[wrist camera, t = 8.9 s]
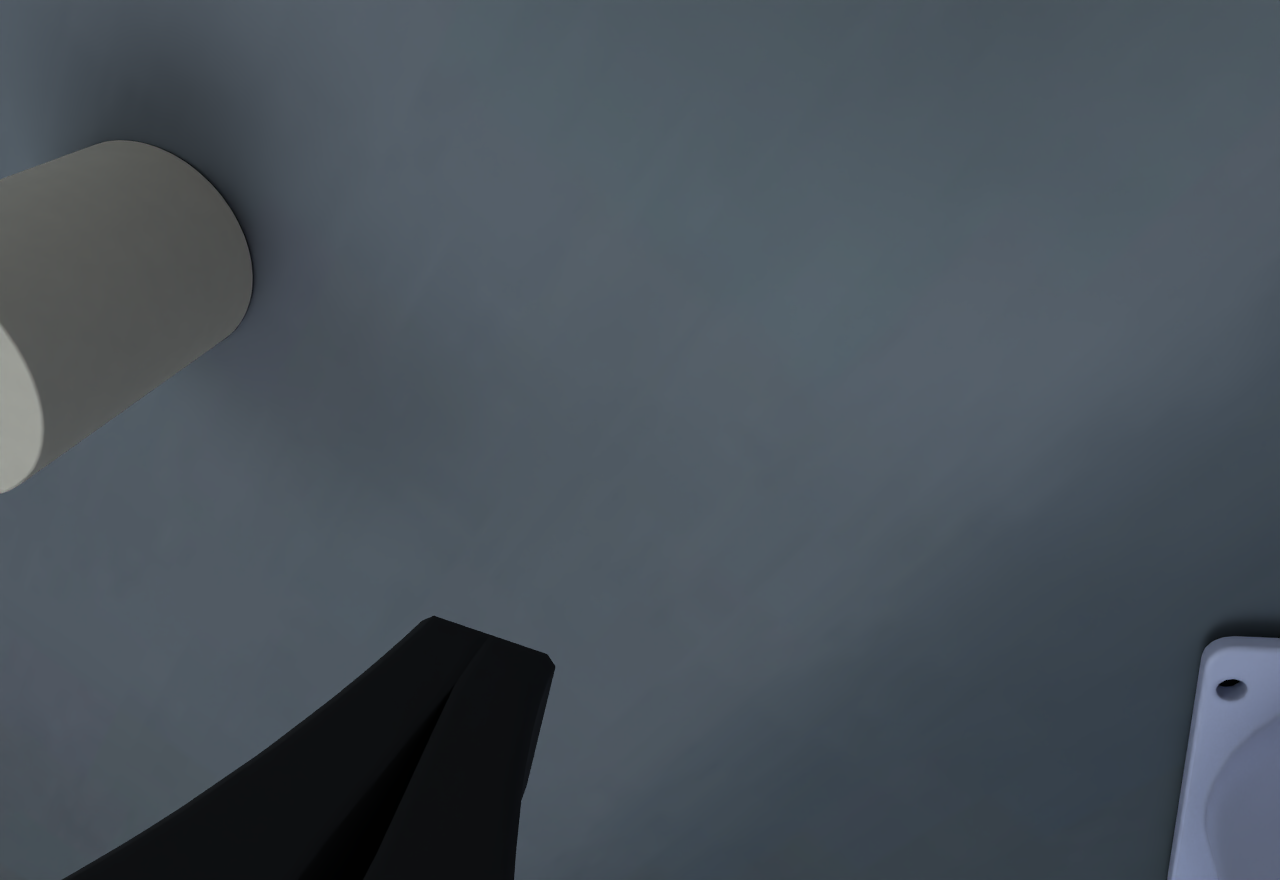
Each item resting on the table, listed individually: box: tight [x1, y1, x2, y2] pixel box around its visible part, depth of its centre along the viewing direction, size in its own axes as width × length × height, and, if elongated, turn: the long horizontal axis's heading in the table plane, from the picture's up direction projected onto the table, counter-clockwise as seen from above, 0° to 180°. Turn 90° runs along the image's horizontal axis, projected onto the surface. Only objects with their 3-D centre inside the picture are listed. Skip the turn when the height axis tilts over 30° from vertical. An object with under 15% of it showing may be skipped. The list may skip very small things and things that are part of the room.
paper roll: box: [0, 140, 253, 494], centre depth 19 cm, size 6×4×4 cm
